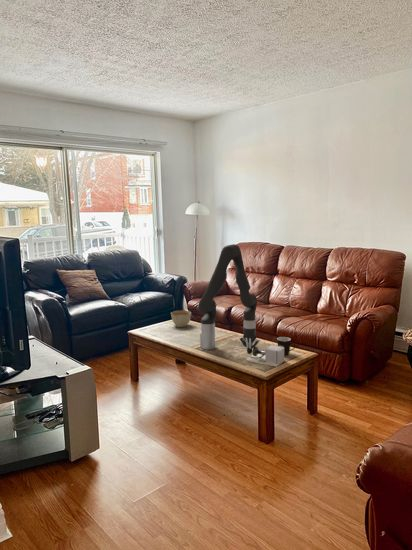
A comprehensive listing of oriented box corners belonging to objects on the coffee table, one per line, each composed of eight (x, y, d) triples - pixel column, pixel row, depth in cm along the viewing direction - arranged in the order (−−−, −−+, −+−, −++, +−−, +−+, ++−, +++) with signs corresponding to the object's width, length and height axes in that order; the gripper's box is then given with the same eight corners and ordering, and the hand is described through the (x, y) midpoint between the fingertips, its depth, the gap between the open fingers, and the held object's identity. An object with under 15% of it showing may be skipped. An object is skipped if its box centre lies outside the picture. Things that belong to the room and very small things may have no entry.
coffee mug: (274, 353, 262) (274, 338, 260) (285, 351, 265) (285, 336, 264) (284, 359, 251) (284, 343, 250) (296, 356, 255) (296, 341, 253)
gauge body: (246, 360, 250) (245, 346, 248) (254, 354, 260) (254, 341, 258) (277, 366, 239) (277, 352, 237) (285, 360, 249) (285, 346, 247)
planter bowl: (191, 328, 322) (191, 314, 320) (171, 329, 321) (170, 315, 319) (191, 322, 337) (191, 310, 336) (171, 323, 337) (171, 310, 335)
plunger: (250, 358, 248) (250, 349, 247) (256, 354, 255) (256, 345, 254) (272, 362, 240) (272, 353, 240) (278, 358, 248) (278, 349, 247)
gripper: (237, 326, 252) (237, 353, 255) (256, 329, 245) (256, 357, 248) (242, 323, 258) (242, 350, 261) (261, 326, 251) (262, 353, 254)
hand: (249, 353), depth 254 cm, fingers closed
